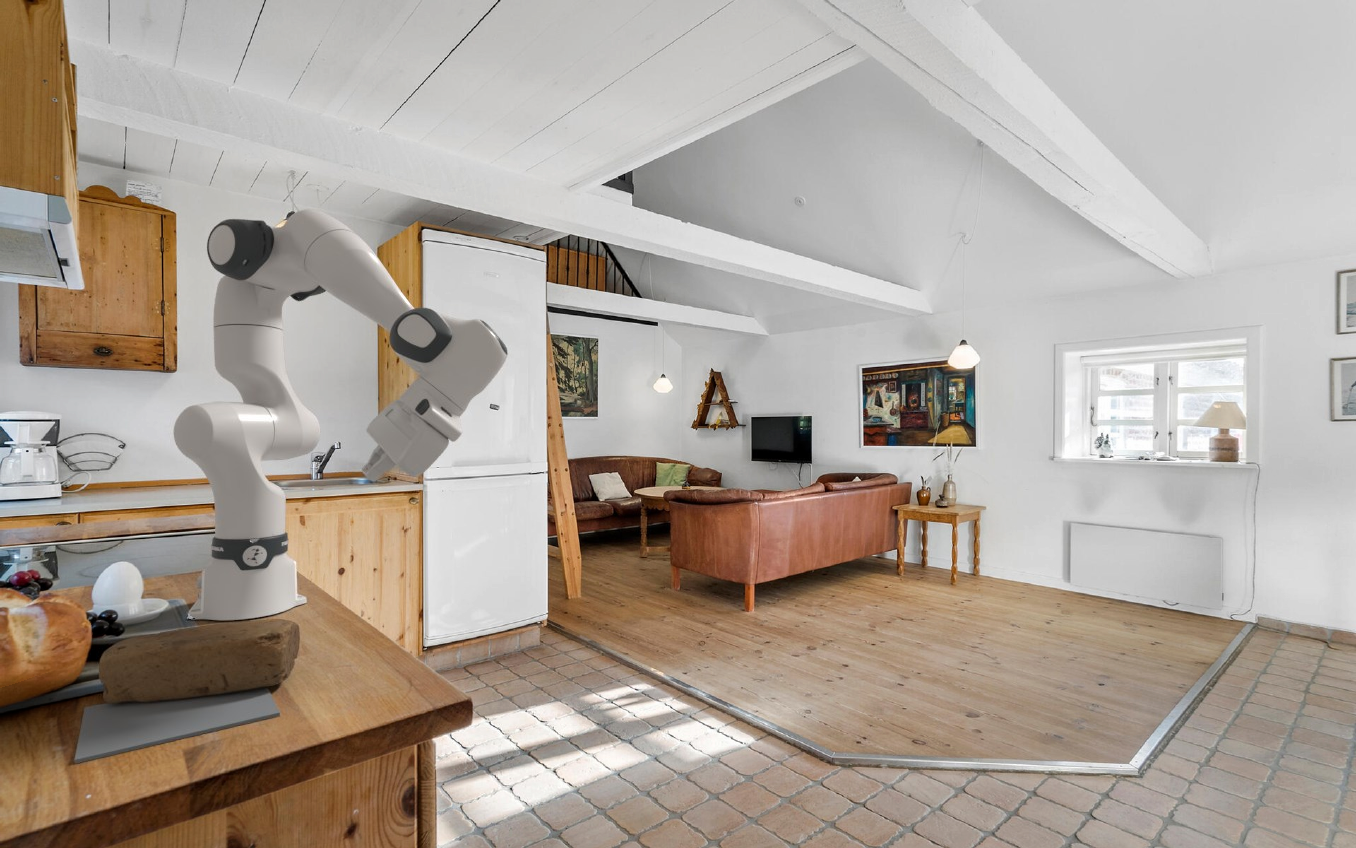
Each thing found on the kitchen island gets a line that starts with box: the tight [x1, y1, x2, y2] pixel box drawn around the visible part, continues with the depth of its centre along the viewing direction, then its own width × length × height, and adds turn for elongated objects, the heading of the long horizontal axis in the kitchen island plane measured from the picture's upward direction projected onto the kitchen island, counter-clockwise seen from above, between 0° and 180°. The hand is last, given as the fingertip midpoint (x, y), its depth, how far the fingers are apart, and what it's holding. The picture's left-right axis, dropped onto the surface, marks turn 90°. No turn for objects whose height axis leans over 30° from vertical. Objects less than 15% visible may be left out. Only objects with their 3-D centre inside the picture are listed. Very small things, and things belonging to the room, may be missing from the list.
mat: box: [73, 686, 281, 765], centre depth 78 cm, size 16×18×1 cm
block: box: [98, 618, 301, 704], centre depth 85 cm, size 11×8×20 cm
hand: (367, 476), depth 100 cm, fingers closed
